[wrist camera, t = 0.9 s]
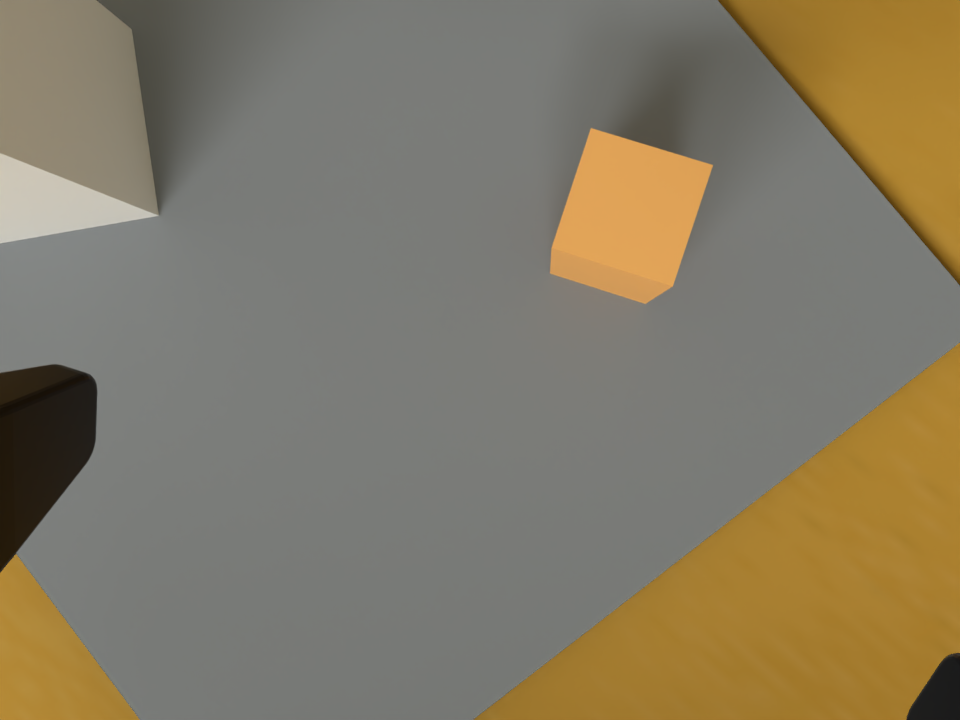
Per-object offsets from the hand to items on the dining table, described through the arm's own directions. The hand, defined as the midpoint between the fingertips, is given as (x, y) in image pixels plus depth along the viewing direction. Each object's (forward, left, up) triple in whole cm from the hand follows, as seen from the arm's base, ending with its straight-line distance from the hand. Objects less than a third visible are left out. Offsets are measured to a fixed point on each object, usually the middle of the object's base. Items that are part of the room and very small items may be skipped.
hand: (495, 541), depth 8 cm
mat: (-1, +7, -14) cm, 15 cm away
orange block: (+5, +3, -13) cm, 14 cm away
